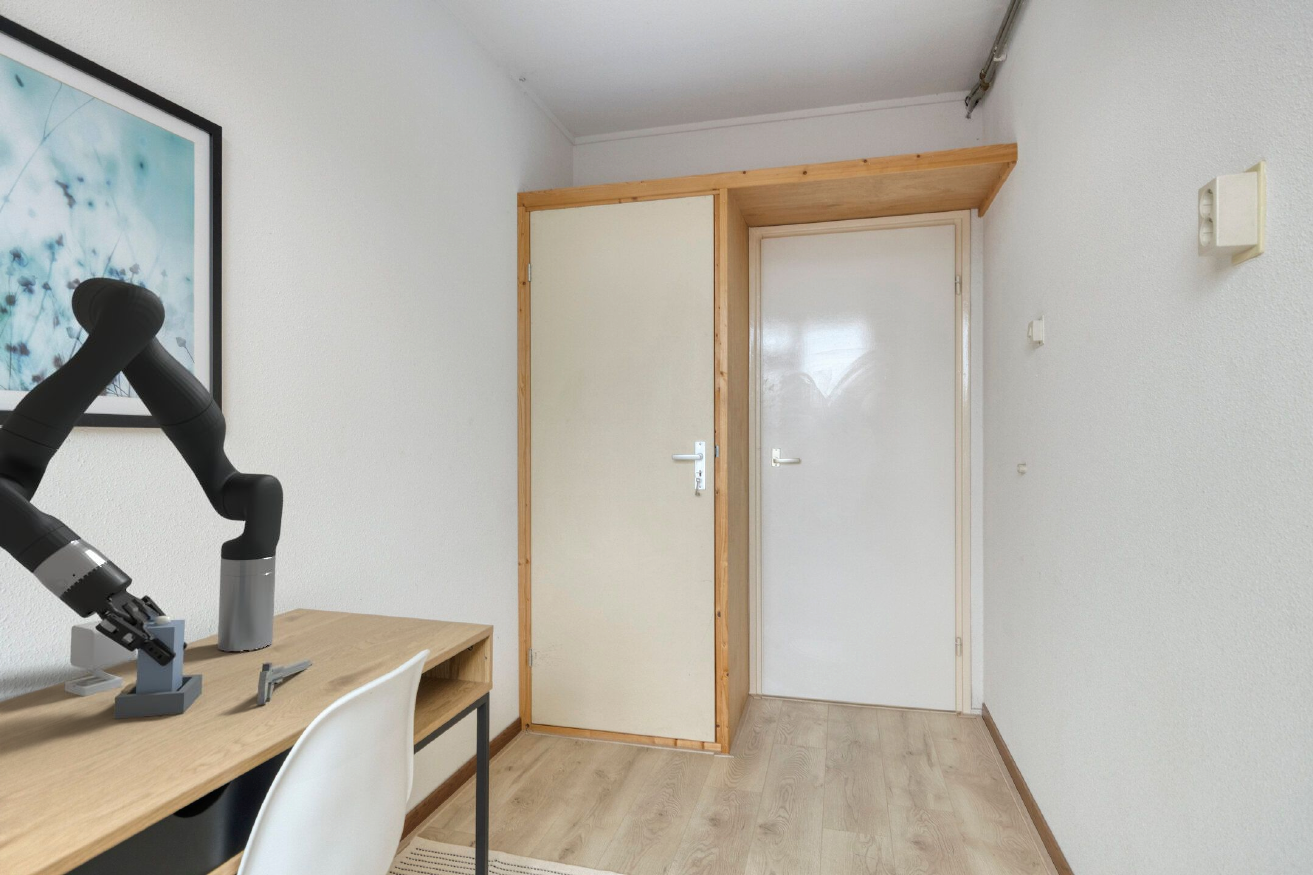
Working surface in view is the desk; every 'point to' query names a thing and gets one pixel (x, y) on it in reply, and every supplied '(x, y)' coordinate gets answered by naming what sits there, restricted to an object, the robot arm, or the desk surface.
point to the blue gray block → (154, 674)
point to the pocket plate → (158, 699)
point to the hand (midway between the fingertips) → (176, 655)
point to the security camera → (95, 659)
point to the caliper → (276, 678)
